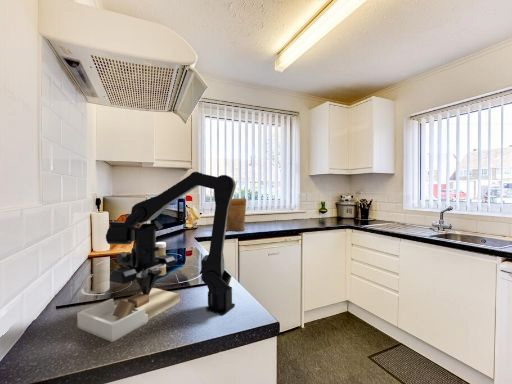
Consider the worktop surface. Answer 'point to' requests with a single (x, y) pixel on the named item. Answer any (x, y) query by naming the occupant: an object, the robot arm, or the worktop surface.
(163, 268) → the sprinkles bottle
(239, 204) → the pancake mix bag
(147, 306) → the birch plate
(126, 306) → the walnut tile
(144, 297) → the walnut tile
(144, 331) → the worktop surface
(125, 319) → the box
